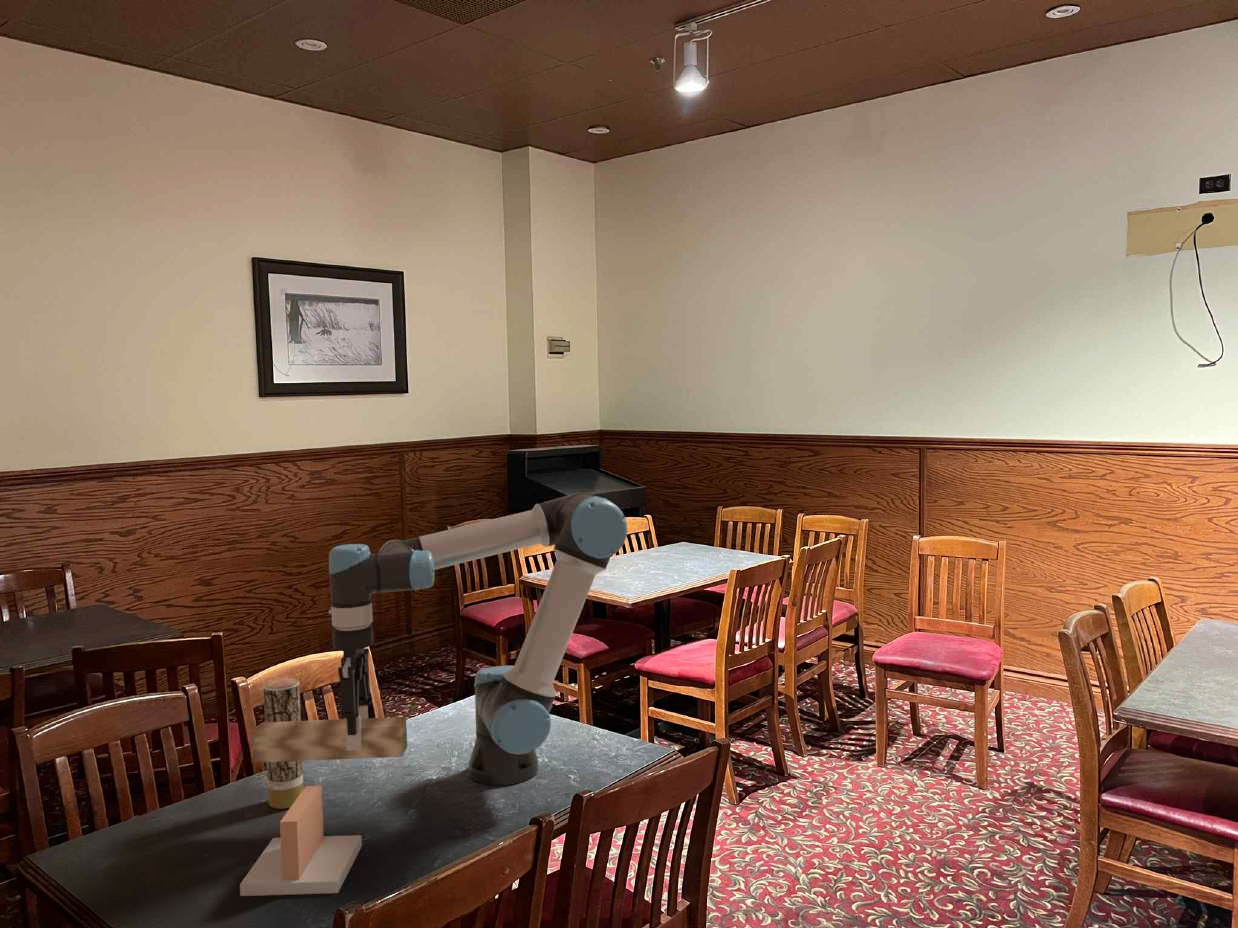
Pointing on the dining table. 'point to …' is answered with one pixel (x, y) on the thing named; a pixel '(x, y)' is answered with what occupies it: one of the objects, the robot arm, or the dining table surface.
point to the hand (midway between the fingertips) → (358, 743)
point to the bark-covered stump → (287, 774)
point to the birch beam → (327, 740)
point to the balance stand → (302, 854)
